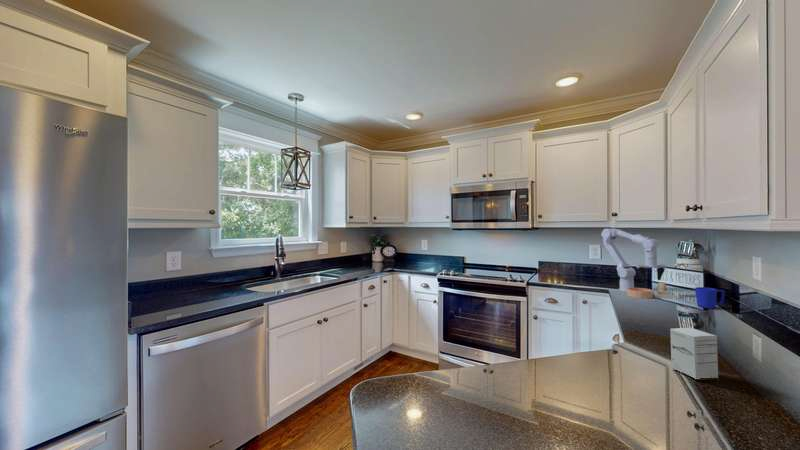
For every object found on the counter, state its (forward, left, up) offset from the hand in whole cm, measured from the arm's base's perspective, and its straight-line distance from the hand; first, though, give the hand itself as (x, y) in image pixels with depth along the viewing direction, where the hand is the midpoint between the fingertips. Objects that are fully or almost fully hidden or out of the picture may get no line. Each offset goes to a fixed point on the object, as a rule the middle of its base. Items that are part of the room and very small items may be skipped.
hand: (651, 279), depth 192 cm
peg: (+4, +4, -9) cm, 11 cm away
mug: (+28, +16, -10) cm, 34 cm away
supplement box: (+122, -30, -10) cm, 126 cm away
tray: (+4, +4, -10) cm, 11 cm away
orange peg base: (+8, -9, -10) cm, 15 cm away
